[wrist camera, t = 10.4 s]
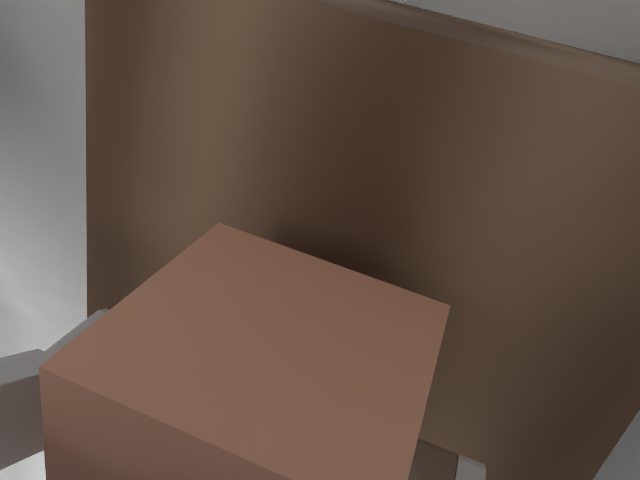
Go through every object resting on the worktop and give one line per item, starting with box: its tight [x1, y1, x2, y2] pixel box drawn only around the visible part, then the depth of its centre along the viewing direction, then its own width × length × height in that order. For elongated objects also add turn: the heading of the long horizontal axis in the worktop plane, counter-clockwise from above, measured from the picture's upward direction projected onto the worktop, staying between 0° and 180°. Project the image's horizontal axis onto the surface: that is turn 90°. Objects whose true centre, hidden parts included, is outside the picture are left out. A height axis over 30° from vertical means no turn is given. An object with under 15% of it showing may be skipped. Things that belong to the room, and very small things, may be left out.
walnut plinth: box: [85, 0, 640, 480], centre depth 15 cm, size 14×14×4 cm
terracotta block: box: [39, 223, 451, 480], centre depth 10 cm, size 5×5×5 cm
